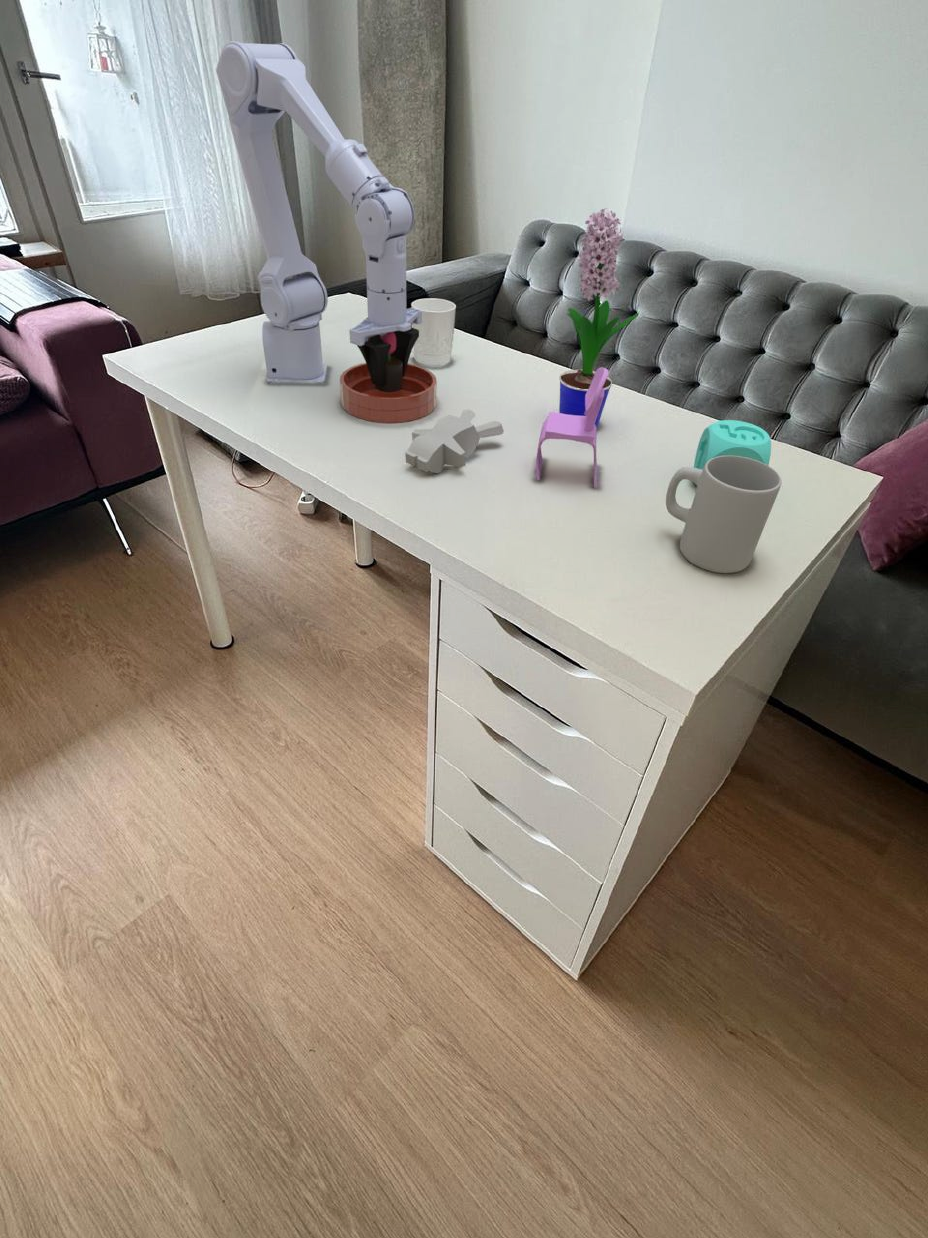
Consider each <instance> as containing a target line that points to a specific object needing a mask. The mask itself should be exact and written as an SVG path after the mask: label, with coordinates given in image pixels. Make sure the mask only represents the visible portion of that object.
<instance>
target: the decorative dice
mask: <svg viewBox="0 0 928 1238" xmlns="http://www.w3.org/2000/svg"><path fill="white" fill-rule="evenodd" d="M771 455H772V439H771V437H770V434H769V433H768V432H767V431H766V430H765V429H763V428H762V427H760V426H758V425H755V424H753V423H750V422H747V421H742V420H736V419H722V420H718V421H715V422H713V423H712V424H710V425H708V426H707V427H705V428H704V430H703V432H702V434H701V436H700V438H699V441H698V445H697V448H696V453H695V458H694V461H693V462H694V463H693V468H698V469H702V470H703V469H704V466H705V464H706V463H707V462H708V461H709V460H710V459H712V458H715V457H719V456H740V457H746V458H750V459H754V460H757V461H759V462H762V463H764V464H766V465H768V466H769V465H770V460H771Z"/></svg>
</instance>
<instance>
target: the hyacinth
mask: <svg viewBox="0 0 928 1238" xmlns="http://www.w3.org/2000/svg"><path fill="white" fill-rule="evenodd" d="M605 210H606V211H605ZM605 214H606V215H605ZM616 216H617V215H616V212H614V211H613V210H610V211H608V208H607V207H605V208H602V209H600V210H599V211H598V212H595V211H594V212H592V213H591V214H590V215H589V217H588V218H587V220H585V223H584V224H586V225H587V227H586V228H585V230H584V233H585V235H584V238H582V239H581V241H580V243H582V244H581V246H582V248H579V250H578V251H579V253H578V257H579V260H578V267H579V268H580V269H579V271H580V272H579V275H580V279H581V280H580V284H579V285H578V288H580V291H581V293H582V298H583V299H587V301H588V302H590V301H593V300H594V310H593V320H592V321H591V320H590V319H589V318H588V317H586V316H582V315H581V313H579V311H577V310H576V309H574V308H572V307H568V308H567V313H566V315H567V316H568V317H570V318H571V320H572V323H573V325H574V328H575V332H576V336H577V340H578V344H579V347H580V353H581V358H582V369H571V370H565V371H564V372H562V373H561V374H560V375H559V401H558V402H559V403H558V405H559V407H558V409H559V412H558V413H562V414H567V415H576V416H586V415H585V414H584V412H585V411H586V408H585V395H586V393H587V391H588V389H589V387H590V385H591V383H592V380H593V378H594V375H595V372H596V371H594V370H593V368H594V366H595V363H596V360H597V358H598V356H599V355H600V353H601V351H602V349H603V348H604V346H605V345H606V344H607V342H608V341H609V340H610V339H611V338H612V337H613V336H614V335H615V334H616V333H617V332H619V331H620V330H621V329H622V328H624V327H625V326H627V325H628V324H630V323H631V322H632V321H633V320H635V319H636V318H637V317H638V316H639V315H640V313H639V312H636V313H635V314H633V315H631V316H630V317H628V318H627V319H625V320H622V322H620V323H618V321H619V319H620V316H616V317H614V318H613V319H611V320H610V321H609V317H610V303H609V301H608V300H606V299H605V300H604V301H602V303H601V297H602V296H603V297H604V298H607V297H608V295H612V296H614V295H615V292H619V291H620V288H619V287H620V286H621V282H619V281H620V280H621V278H620V277H617V273H616V272H617V263H616V262H615V261H616V260H617V258H618V254H619V249H620V247H621V246H622V240H623V238H624V237H623V236H624V235H623V234H622V227H619V226H618V225H622V224H621V222H620V220H621V219H620V218H619V217H616ZM618 227H619V228H620V229H619V228H618ZM581 249H582V250H581ZM584 273H585V274H584ZM593 295H594V296H595V299H594V298H593V297H592V296H593ZM600 303H601V304H600ZM617 323H618V324H617ZM612 386H613V381H612V379H611V378H610V377H609V376H608V377H607V379H606V381H605V383H604V385H603V387H602V389H604V398H603V401H602V404H601V407H600V410H599V413H598V416H597V419H596V422H595V426H596V430H598V427H599V424H600V421H601V418H602V414H603V411H604V409H605V405H606V401H607V400H608V396H609V393H610V389H611V388H612Z"/></svg>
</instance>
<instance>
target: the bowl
mask: <svg viewBox="0 0 928 1238" xmlns="http://www.w3.org/2000/svg"><path fill="white" fill-rule="evenodd" d="M437 385H438V382H437V377H436V375H435V374H434V373H433V372H432V371H430V370H429V369H427V368H425V367H422V366H420V365H417V364H413V363H409V362H408V364H407V368H406V372H405V376H404V377H402V389H401V390H399V391H396V392H383V391H379V390H377V389H376V388H375V384H373V383H372V380H371V377H370V373H369V370H368V367H367V364H366V362H364V363H359V364H356V365H353V366H350V367H348V368H347V369H345V370H344V371H343V372H342V373H341V375H340V377H339V388H340V401H341V404H340V405H341V406H342V408H343V410H344V411H345V412H347V413H348V414H349V415H352V416H353V417H356V418H358V419H361V420H365V421H368V422H374V423H382V424H398V423H407V422H413V421H417V420H419V419H422V418H424V417H427V416H428V415H430V414H431V413H433V412H434V410H435V409H436V407H437V392H438V391H437V387H438V386H437Z"/></svg>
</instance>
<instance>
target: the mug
mask: <svg viewBox="0 0 928 1238" xmlns="http://www.w3.org/2000/svg"><path fill="white" fill-rule="evenodd" d="M780 475H781V474H779V472H778V471H777V470H776V469H774V468H773V467H771V466H769V465H766V464H764V463H762V462H759V461H757V460H754V459H750V458H746V457H740V456H719V457H715V458H712V459H710V460H709V461H708V462H707V463H706V464H705V466H704V469H703V470H702V469H698V468H694V466H684V467H681V468H679V469H677V471H675V473H674V474H673V476H672V477H671V479H670V481H669V483H668V485H667V489H666V495H665V507H666V511H667V512H668V513H669V514H670V516H672V517H673V518H676V519H677V520H679V521H681V522H683V523H685V524H684V528H683V530H682V533H681V537H680V541H679V550H680V552H681V554H682V556H683V557H684V558H685V559H686V560H687V561H688V562H689V563H691V564H692V565H694V566H696V567H698V568H700V569H703V570H705V571H709V572H713V573H719V574H734V573H739V572H741V571H743V570H744V569H746V568H748V566H749V565H750V563H751V562H752V559H753V557H754V554H755V551H756V549H757V547H758V544H759V541H760V538H761V536H762V534H763V530H764V528H765V526H766V524H767V522H768V519H769V516H770V514H771V512H772V509H773V507H774V504H775V502H776V500H777V497H778V494H779V492H780V489H781V486H782V478H781V476H780ZM683 480H688V481H690V482H692V483H693V484H695V485H696V489H695V494H694V497H693V500H692V504H691V506H690V508H688V507H683V506H681V505H679V503H678V502H677V498H676V496H677V495H676V494H677V489H678V486H679V485H680V482H682V481H683Z"/></svg>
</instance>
